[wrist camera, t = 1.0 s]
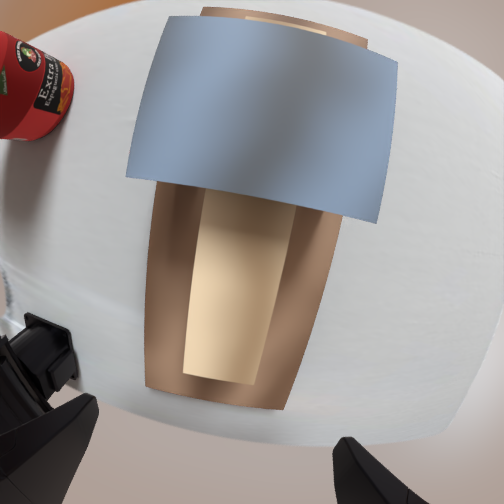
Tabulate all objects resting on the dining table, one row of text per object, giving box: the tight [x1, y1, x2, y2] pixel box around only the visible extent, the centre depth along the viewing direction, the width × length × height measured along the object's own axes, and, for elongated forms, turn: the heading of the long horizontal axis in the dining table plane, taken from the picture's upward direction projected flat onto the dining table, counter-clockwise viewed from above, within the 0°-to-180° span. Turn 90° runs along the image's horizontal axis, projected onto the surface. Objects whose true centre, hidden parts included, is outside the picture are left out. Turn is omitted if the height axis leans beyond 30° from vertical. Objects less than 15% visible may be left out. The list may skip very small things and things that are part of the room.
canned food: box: [0, 31, 74, 141], centre depth 11 cm, size 8×8×11 cm
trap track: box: [126, 7, 398, 410], centre depth 14 cm, size 12×30×10 cm, turn 169°
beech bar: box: [183, 16, 326, 385], centre depth 14 cm, size 4×19×5 cm, turn 169°
